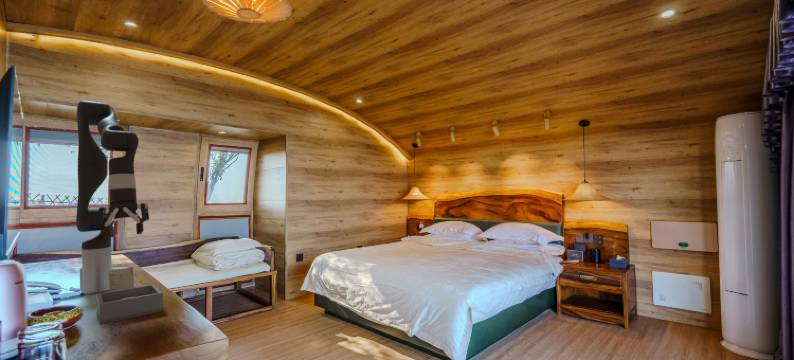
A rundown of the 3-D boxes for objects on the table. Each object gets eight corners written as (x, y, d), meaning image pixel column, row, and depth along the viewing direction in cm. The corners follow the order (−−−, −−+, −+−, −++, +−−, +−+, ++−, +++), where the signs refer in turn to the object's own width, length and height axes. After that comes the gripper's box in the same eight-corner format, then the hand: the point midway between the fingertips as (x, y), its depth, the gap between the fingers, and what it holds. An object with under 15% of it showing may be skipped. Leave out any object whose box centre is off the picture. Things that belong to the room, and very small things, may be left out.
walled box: (99, 324, 111) (99, 304, 111) (97, 312, 123) (96, 293, 123) (162, 311, 121) (162, 292, 121) (154, 301, 133) (154, 284, 133)
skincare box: (135, 300, 136) (134, 266, 136) (125, 303, 131) (124, 268, 132) (118, 300, 136) (118, 266, 136) (108, 303, 132) (107, 268, 132)
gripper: (150, 187, 134) (153, 232, 132) (105, 191, 131) (107, 237, 129) (140, 185, 126) (143, 233, 125) (92, 189, 123) (94, 239, 122)
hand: (125, 235), depth 127 cm, fingers open, 8 cm apart
